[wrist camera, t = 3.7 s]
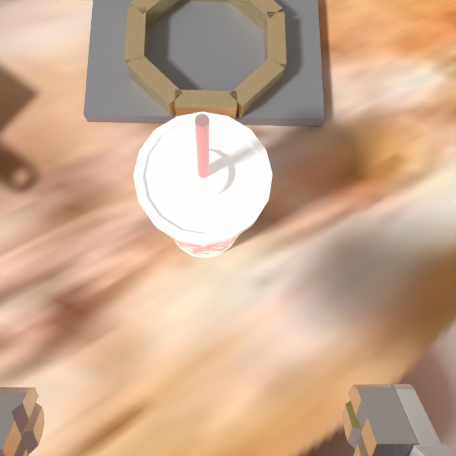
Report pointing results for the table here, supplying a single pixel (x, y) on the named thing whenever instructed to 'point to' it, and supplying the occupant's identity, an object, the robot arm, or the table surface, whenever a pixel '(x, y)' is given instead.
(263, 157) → the beverage cup
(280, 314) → the table surface
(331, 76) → the table surface
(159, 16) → the socket
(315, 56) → the board
